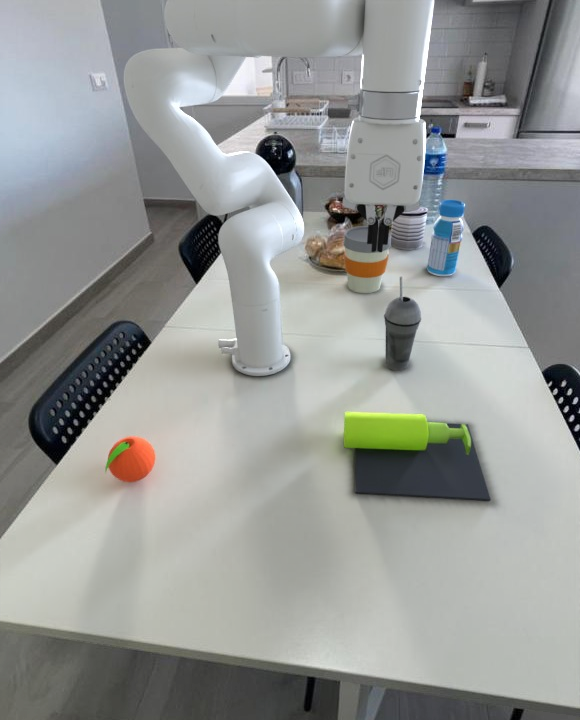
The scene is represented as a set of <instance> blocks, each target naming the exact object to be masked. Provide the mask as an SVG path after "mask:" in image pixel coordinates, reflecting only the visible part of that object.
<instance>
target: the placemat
mask: <svg viewBox="0 0 580 720" xmlns="http://www.w3.org/2000/svg"><path fill="white" fill-rule="evenodd" d="M445 423H446V424H447V426H448V427H449V428H460V427H461V424H462V423H450V422H449V423H448V422H445ZM464 424H465V425H466V427H467V429H468V432H469V434H470V438H471V447H470V451H469V455H467V454H466V453H465V445H464V443H463V440H462V439H449V440H448V441H447V443H445V444H443V443H427V446H426V449H425V450H424V451H422V450H396V449H369V448H354V480H355V481H354V487H355V488H354V493H355V494H360V495H378V496H397V497H398V496H399V497H412V498H413V497H414V498H415V497H416V498H417V497H418V498H435V499H452V500H469V501H470V500H471V501H486V502H487V501H488V502H490V501H491V496H490V492H489V489H488V486H487V482H486V480H485V476H484V473H483V469H482V466H481V463H480V460H479V457H478V453H477V450H476V447H475V443H474V441H473V440H474V439H473V437H472V434H471V431H470V427H469V424H468V423H464Z"/></svg>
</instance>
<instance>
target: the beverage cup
mask: <svg viewBox="0 0 580 720" xmlns="http://www.w3.org/2000/svg"><path fill="white" fill-rule="evenodd" d="M403 284H404V283H403V276H399V296H397V297H396V298H394V299H392V300H391V301H390V302H389V303H388V304H387V307H386V309H385V311H384V315H383V318H384V327H385V366H386V367H387V368H388V369H390V370H393V371H403V370H405V369H407V368H408V364H409V361H410V358H411V354H412V350H413V346H414V342H415V338H416V334H417V330H418V329H419V326H420V324H421V322H422V312H421V308H420V306H419V304H418V302H417V301H416V300H414V299H413V298H411V297H409V296H404V295H403V293H404V291H403V288H404V287H403V286H404V285H403Z"/></svg>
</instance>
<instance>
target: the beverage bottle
mask: <svg viewBox="0 0 580 720" xmlns="http://www.w3.org/2000/svg"><path fill="white" fill-rule="evenodd" d="M465 209H466V203H465V202H464V201H462V200H458V199H445V200H441V201H440V202H439V206H438V218H437V219H436V220H435V222H434V223H433V227H432V229H433V231H432V233H431V236H430V239H431V240H430V248H429V254H428V261H427V267H426V269H427V272H428V273H429V274H431V275H433V276H437V277H451V276H452V275H454V274H455V273H456V270H457V264H458V258H459V254H460V249H461V245H462V244H461V243H462V241H463V234H462V233H463V231H464V227H465V226H464V223H463V222H464V221H463V220H462V218H463V217H464V214H465Z"/></svg>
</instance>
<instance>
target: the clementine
mask: <svg viewBox="0 0 580 720" xmlns="http://www.w3.org/2000/svg"><path fill="white" fill-rule="evenodd" d="M155 463H156V452H155V449H154V447H153V445H152V443H151V442H149V441H148V440H147V439H145V438H143V437H140V436H136V435H135V436H133V435H132V436H127V437H126V436H125V437H124V438H121V439H119V440H118V441H116V443H114V444H113V445H112V447H111V449H110V450H109V453H108V455H107V461H106V465H105V475H107V471H108V470H109V472H110V474H112V476H113V477H115V479H117V480H120V481H122V482H127V483H131V482H132V483H133V482H138V481H140V480H143V479H145V478H146V477H147V476H148V475H149V474H150V473H151V472H152V470H153V469H154V466H155Z"/></svg>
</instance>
